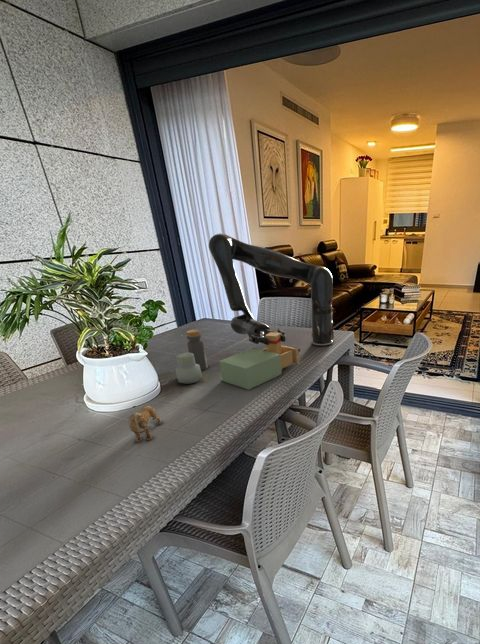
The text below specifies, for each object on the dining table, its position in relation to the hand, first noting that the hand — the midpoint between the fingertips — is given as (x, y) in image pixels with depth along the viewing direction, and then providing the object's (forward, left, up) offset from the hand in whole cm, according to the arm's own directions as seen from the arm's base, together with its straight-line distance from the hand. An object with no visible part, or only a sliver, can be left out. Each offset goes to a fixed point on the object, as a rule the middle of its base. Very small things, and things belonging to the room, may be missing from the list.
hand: (276, 340), depth 132 cm
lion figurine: (+56, +4, -11) cm, 57 cm away
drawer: (-2, -2, -10) cm, 11 cm away
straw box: (-1, -2, -6) cm, 6 cm away
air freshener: (+27, -19, -11) cm, 35 cm away
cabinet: (+12, -2, -11) cm, 16 cm away
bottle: (+17, -27, -11) cm, 34 cm away
